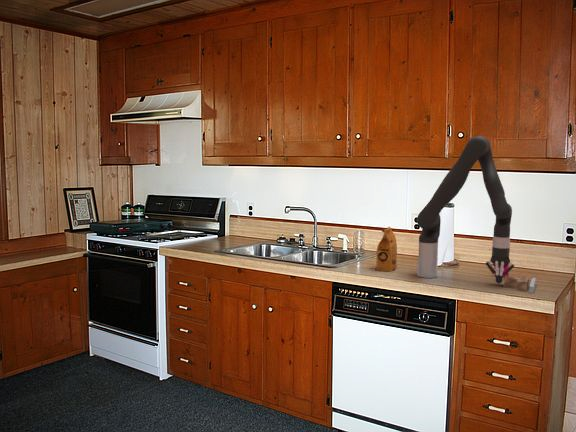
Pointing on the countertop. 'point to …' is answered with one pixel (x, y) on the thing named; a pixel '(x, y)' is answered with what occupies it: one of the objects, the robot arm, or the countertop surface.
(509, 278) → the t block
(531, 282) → the stop rail
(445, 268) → the countertop surface
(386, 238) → the coffee package
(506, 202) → the robot arm
